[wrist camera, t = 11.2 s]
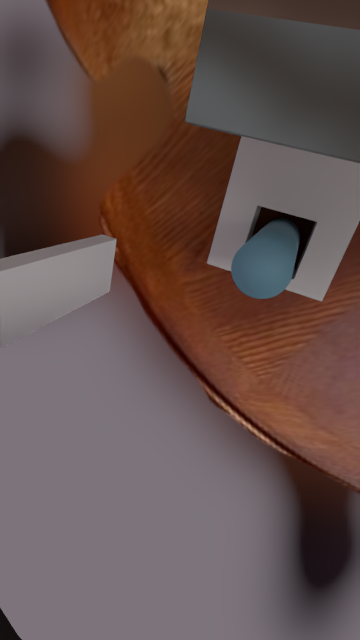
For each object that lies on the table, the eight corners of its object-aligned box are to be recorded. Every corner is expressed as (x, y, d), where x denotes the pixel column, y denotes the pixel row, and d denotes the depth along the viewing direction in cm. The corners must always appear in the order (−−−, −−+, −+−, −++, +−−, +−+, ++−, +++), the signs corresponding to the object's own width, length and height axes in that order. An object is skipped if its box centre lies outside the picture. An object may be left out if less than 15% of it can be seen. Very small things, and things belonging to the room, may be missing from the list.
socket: (259, 105, 31) (252, 95, 27) (392, 132, 28) (404, 125, 25) (216, 256, 37) (206, 263, 34) (320, 289, 35) (321, 301, 31)
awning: (264, 86, 30) (212, -21, 14) (427, 117, 27) (590, 24, 11) (246, 151, 32) (184, 121, 17) (393, 187, 29) (487, 190, 14)
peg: (268, 213, 34) (241, 231, 21) (306, 224, 33) (303, 249, 20) (255, 250, 36) (224, 287, 23) (291, 261, 35) (279, 306, 22)
